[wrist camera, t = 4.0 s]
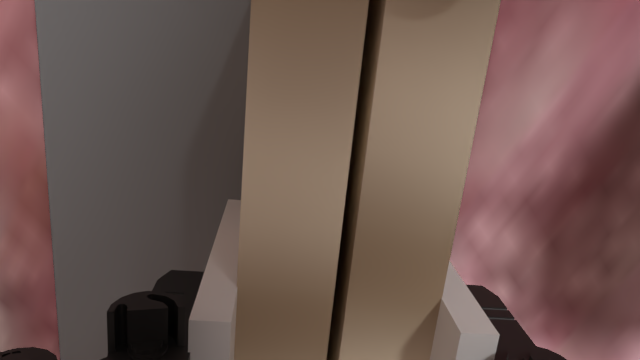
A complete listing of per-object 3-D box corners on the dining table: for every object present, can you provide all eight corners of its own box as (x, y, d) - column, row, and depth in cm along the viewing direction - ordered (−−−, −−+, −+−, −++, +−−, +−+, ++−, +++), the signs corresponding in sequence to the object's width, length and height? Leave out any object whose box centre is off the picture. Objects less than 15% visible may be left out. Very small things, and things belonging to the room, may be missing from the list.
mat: (30, -173, 14) (22, -179, 14) (490, -114, 15) (497, -117, 15) (68, 395, 20) (63, 404, 19) (397, 407, 21) (399, 416, 21)
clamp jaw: (268, -48, 15) (252, -91, 8) (341, -40, 15) (381, -76, 8) (241, 405, 20) (218, 599, 13) (296, 407, 20) (300, 599, 13)
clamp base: (359, -135, 14) (438, -295, 7) (428, -126, 14) (583, -272, 7) (302, 392, 20) (311, 628, 12) (353, 394, 20) (392, 628, 13)
